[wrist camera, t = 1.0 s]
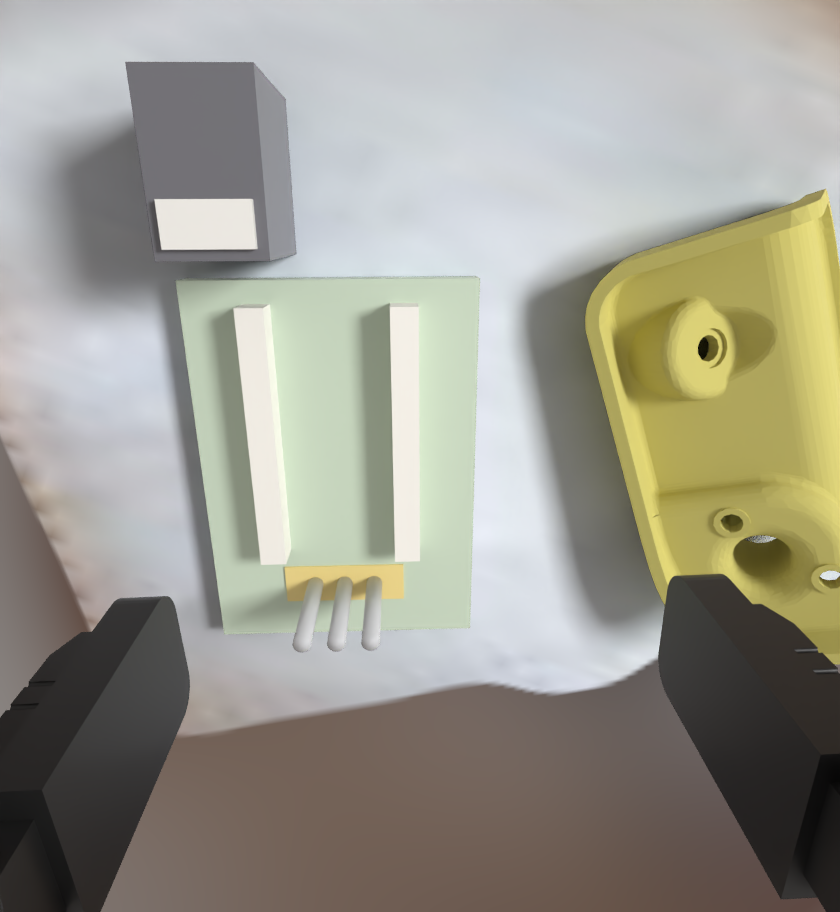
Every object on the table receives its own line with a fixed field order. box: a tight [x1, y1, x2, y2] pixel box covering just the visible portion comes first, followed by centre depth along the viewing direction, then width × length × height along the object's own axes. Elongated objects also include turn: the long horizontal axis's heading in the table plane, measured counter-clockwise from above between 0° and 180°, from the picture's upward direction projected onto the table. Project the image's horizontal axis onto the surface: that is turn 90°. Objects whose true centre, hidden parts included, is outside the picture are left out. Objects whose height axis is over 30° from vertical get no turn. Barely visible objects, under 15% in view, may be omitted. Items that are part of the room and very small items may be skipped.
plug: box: [125, 62, 296, 262], centre depth 23 cm, size 6×4×6 cm, turn 0°
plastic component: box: [585, 189, 840, 664], centre depth 29 cm, size 20×7×10 cm
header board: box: [176, 276, 480, 652], centre depth 28 cm, size 18×13×6 cm
